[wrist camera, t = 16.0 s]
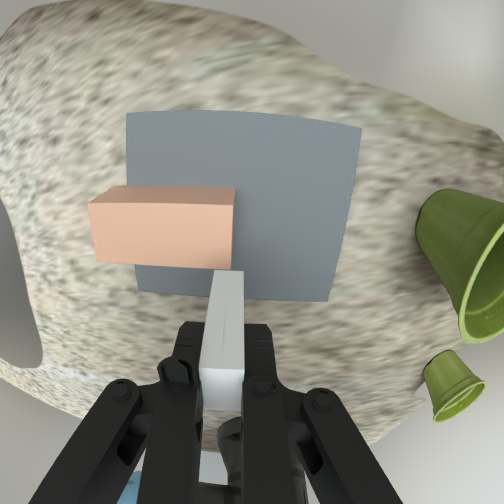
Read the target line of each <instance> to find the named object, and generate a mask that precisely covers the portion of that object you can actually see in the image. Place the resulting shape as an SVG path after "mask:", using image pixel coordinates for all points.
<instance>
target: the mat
mask: <svg viewBox="0 0 504 504" xmlns="http://www.w3.org/2000/svg"><path fill="white" fill-rule="evenodd" d="M361 131H362V128H358V127H354V126H349V125H344V124H338V123H333V122H327V121H321V120H315V119H308V118H301V117H293V116H285V115H276V114H265V113H253V112H238V111H212V110H177V111H152V112H136V113H127V121H126V165H127V186H201V187H229V188H235V209H234V232H233V248H232V260H231V270H227V271H244V299H255V300H278V301H313V302H327V301H328V297H329V293H330V290H331V286H332V282H333V278H334V274H335V270H336V266H337V262H338V258H339V253H340V249H341V245H342V240H343V236H344V231H345V226H346V221H347V217H348V211H349V206H350V201H351V196H352V190H353V185H354V179H355V173H356V166H357V160H358V153H359V146H360V139H361ZM214 270H224V269H204V268H186V267H169V266H153V265H137V264H135V271H136V277H137V284H138V290H139V291H144V292H154V293H166V294H177V295H190V296H204V297H210V293H211V287H212V281H213V275H214Z"/></svg>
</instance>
